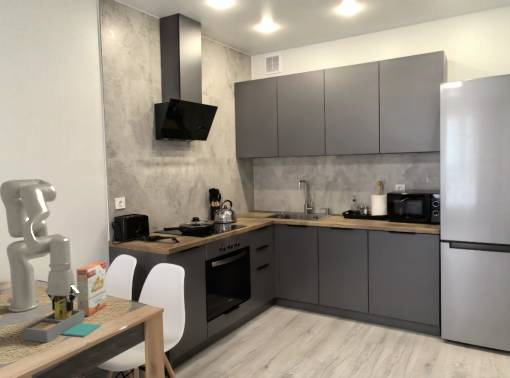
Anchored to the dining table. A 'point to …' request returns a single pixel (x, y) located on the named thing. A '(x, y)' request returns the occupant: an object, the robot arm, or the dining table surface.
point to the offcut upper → (43, 326)
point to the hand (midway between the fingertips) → (63, 309)
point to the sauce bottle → (61, 308)
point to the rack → (55, 330)
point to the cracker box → (91, 287)
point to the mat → (81, 330)
